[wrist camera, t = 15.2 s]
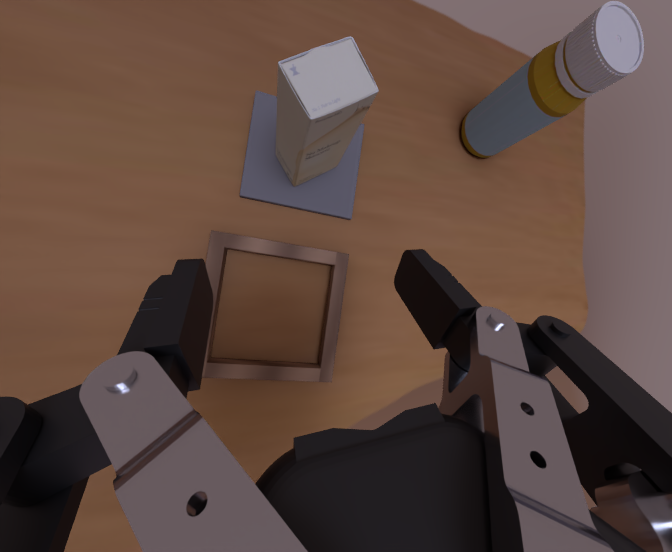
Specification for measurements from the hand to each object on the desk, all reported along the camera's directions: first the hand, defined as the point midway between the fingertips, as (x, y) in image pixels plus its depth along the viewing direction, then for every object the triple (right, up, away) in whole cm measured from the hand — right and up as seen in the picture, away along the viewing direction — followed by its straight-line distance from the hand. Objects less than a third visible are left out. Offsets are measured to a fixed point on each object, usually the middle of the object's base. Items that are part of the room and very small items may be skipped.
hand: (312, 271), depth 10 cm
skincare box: (-2, +13, +19) cm, 23 cm away
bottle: (+22, +20, +26) cm, 39 cm away
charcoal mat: (-3, +14, +19) cm, 24 cm away
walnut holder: (-6, -4, +18) cm, 20 cm away
